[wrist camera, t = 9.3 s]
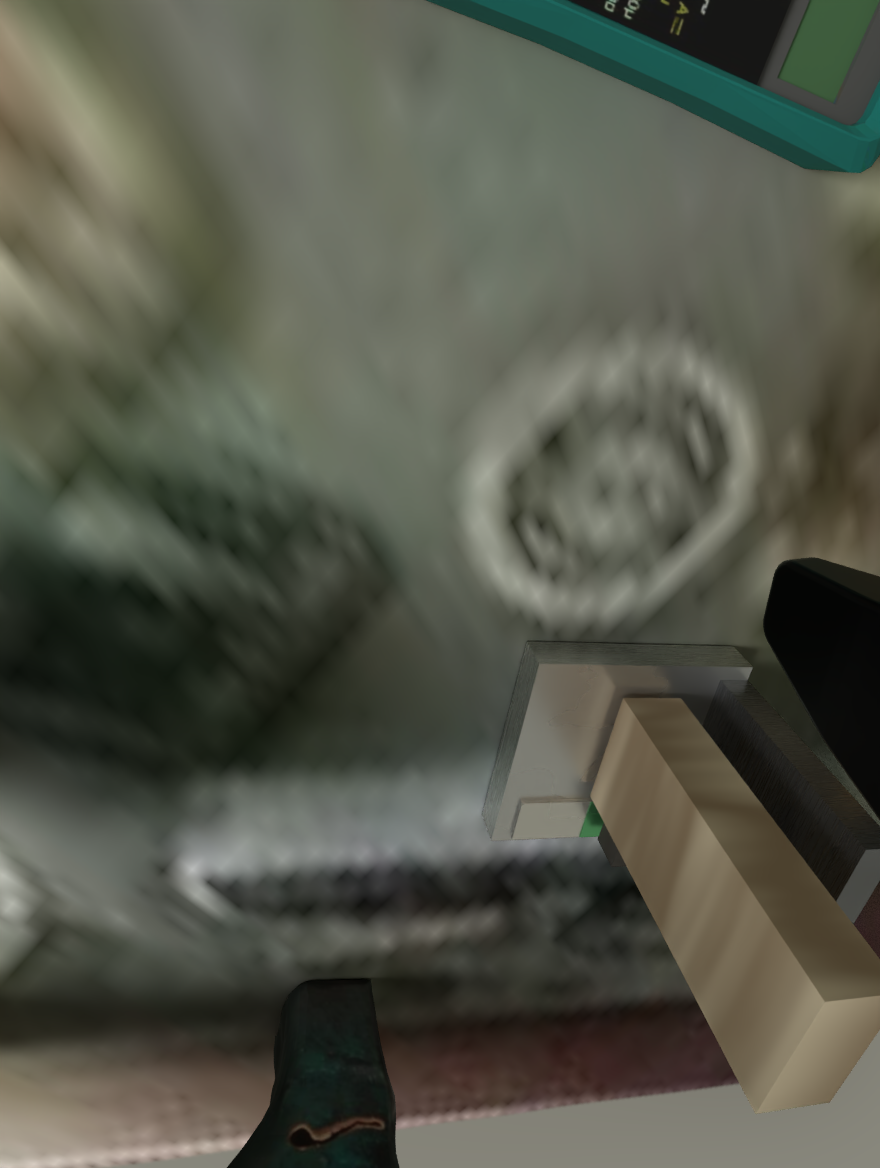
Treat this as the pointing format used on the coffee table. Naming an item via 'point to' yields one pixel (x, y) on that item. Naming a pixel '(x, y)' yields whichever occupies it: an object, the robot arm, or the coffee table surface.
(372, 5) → the coffee table surface
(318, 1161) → the green animal figurine
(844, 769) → the robot arm
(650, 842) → the light brown wooden block
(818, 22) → the digital multimeter
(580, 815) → the gauge base
